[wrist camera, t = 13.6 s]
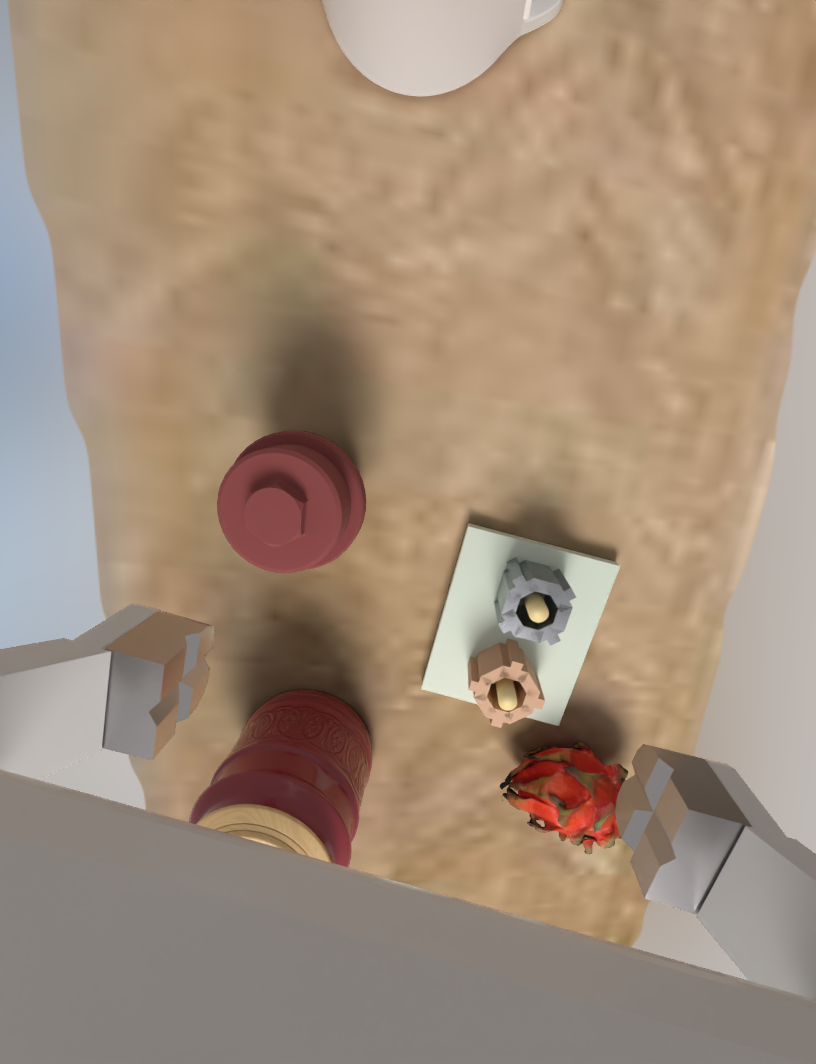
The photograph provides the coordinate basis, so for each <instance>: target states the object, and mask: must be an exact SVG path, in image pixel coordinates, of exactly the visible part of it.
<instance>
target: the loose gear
mask: <svg viewBox="0 0 816 1064" xmlns="http://www.w3.org/2000/svg"><path fill="white" fill-rule="evenodd" d="M506 563H507V566H508V569H507V570H505V571H504V572H503V575H502V578H501V581H500V584H499V588H498V591H497V597H498V600H497V601H495V602H494V605H495V610H496V616H497V621H498V625H499V627H500V628H501V630H502V632H503V633H506V632H508V631H510V630H511V632H512V633H513V635H514V636H515V637H519V638H523V639H527V640H531V641H534V642H538V643H541V642H543V641H545V640H547V641H548V643H549V644H550V646H551V645H553V644H555V643H557V642H559V641H561V640H560V638H559V635H558V634H560V633H562V632H564V631H565V628H566V625H567V622H568V619H569V617H570V614H571V611H572V608H573V607H572V605H571V603H570V600H572V599H574V598H576V596H575V594H574V592H573V590H572V588H571V587H570V585H569V584H568V582H567V580H566V579H565V577H564V575H563V574H562V572H561V571H560V569H557V570H555V571H552V570H551V568H550V566H547V565H543V564H540V563H536V562H532V561H528V560H524V561H522V562H520V563H519V562H518V560H517V558H516V557H515V558H513V559H512V560H510V561H508V562H506ZM533 592H539V593H543V594H546V595H545V598H544V602H545V604H546V606H547V608H548V611H549V616H548V618H547V619H546V620H545V621H543V622H540V623H537V622H534V621H532V620H531V619H530V617H529V614H528V611H527V609H526V606H523V605H520V604H519V601H520V599H521V598H523V597H525V596H527V595H529V594H531V593H533Z"/></svg>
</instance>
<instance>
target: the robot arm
mask: <svg viewBox="0 0 816 1064" xmlns="http://www.w3.org/2000/svg"><path fill="white" fill-rule="evenodd" d="M321 1H322V3H323V7H324V10H325V13H326V16H327V19H328V22H329V25H330V27H331V30H332V32H333V34H334V37H335V39H336V41H337V42H338V44H339V46H340V48H341V49H342V51H343V52H344V54H345V55H346V57H347V58H348V59H349V61H350V62H351V63H352V64H353V65H354V66H355V67H356V68H357V69H358V70H359V71H360V72H361V73H362V74H363V75H364V76H366V77H367V78H368V79H370V80H371V81H372V82H374V83H376V84H377V85H379V86H381V87H383V88H385V89H387V90H390V91H392V92H395V93H399V94H403V95H409V96H432V95H438V94H443V93H446V92H449V91H452V90H455V89H457V88H459V87H461V86H463V85H465V84H467V83H469V82H470V81H472V80H474V79H475V78H477V77H478V76H479V75H481V74H482V73H483V72H484V71H485V70H487V69H488V68H489V67H490V66H491V65H492V64H493V63H494V62H495V61H496V60H497V59H498V58H499V56H500V55H501V54H502V53H503V52H504V51H505V50H506V49H507V48H508V46H509V45H511V44H512V43H513V42H514V41H515V40H516V39H517V38H518V37H520V36H522V35H524V34H526V33H528V32H531V31H533V30H535V29H537V28H539V27H541V26H543V25H545V24H546V23H548V22H549V21H551V20H552V19H553V18H554V17H556V15H557V14H558V13H559V12H560V10H561V8H562V5H563V2H564V0H321ZM214 637H215V630H214V628H213V626H212V625H208V624H205V623H202V622H198V621H195V620H191V619H188V618H185V617H181V616H178V615H174V614H171V613H168V612H164V611H161V610H159V609H155V608H151V607H147V606H143V605H139V604H131V605H129V606H127V607H126V608H124V609H123V610H121V611H119V612H118V613H116V614H115V615H113V616H111V617H110V618H108V619H106V620H105V621H103V622H102V623H100V624H98V625H97V626H95V627H94V628H92V629H90V630H89V631H87V632H85V633H84V634H82V635H81V636H79V637H78V638H76V639H74V640H73V641H72V640H69V639H65V638H62V639H57V640H52V641H45V642H39V643H34V644H28V645H23V646H17V647H11V648H6V649H0V1064H816V854H815V853H813V852H812V851H811V850H809V849H808V848H807V847H805V846H804V845H803V844H801V843H800V842H799V841H797V840H795V839H792V838H788V837H786V835H785V834H784V833H783V832H782V830H781V829H780V827H779V826H778V825H777V823H776V822H775V821H774V820H773V818H772V817H771V816H770V814H769V813H768V812H767V810H766V809H765V808H764V807H763V805H762V804H761V803H760V801H759V800H758V799H757V797H756V796H755V795H754V793H753V792H752V791H751V790H750V788H749V787H748V786H747V784H746V783H745V782H744V780H743V779H742V778H741V777H740V775H739V774H738V773H737V771H736V770H735V769H734V768H732V767H731V766H729V765H727V764H724V763H720V762H715V761H711V760H707V759H702V758H698V757H694V756H690V755H686V754H682V753H678V752H674V751H670V750H666V749H662V748H658V747H654V746H649V745H644V744H643V745H642V746H641V747H640V748H639V749H638V750H637V752H636V754H635V756H634V758H633V761H632V765H633V768H634V771H635V774H636V775H634V776H632V777H631V778H629V779H627V780H626V781H624V782H623V783H622V786H621V788H620V791H619V793H618V796H617V802H616V812H615V814H616V821H617V827H618V830H619V833H620V835H621V838H622V839H623V841H624V842H625V843H626V844H627V845H628V846H629V847H630V848H631V849H632V850H633V851H634V854H633V857H632V859H631V861H630V862H631V865H632V867H633V870H634V872H635V875H636V877H637V880H638V883H639V885H640V888H641V890H642V893H643V896H644V898H645V899H648V900H652V901H655V902H658V903H661V904H665V905H668V906H671V907H674V908H677V909H680V910H684V911H687V912H690V913H693V914H697V919H698V920H699V921H700V922H701V923H702V925H703V926H704V927H705V928H706V929H707V931H708V932H709V933H710V934H711V935H712V937H713V938H714V939H715V940H716V942H717V943H718V944H719V945H720V947H721V948H722V949H723V950H724V951H725V953H726V954H727V955H728V956H729V957H730V959H731V960H732V961H733V962H734V963H735V965H736V966H737V967H738V968H739V970H740V971H741V972H742V973H743V974H744V976H745V977H746V978H747V979H748V980H744V979H741V978H737V977H734V976H730V975H726V974H723V973H720V972H716V971H712V970H709V969H705V968H702V967H698V966H694V965H691V964H688V963H684V962H680V961H677V960H674V959H670V958H666V957H663V956H659V955H655V954H652V953H649V952H645V951H642V950H638V949H635V948H631V947H627V946H624V945H620V944H617V943H613V942H610V941H606V940H603V939H599V938H596V937H592V936H589V935H585V934H581V933H578V932H574V931H571V930H567V929H564V928H560V927H557V926H553V925H550V924H546V923H543V922H539V921H535V920H532V919H528V918H525V917H521V916H518V915H514V914H511V913H507V912H504V911H500V910H496V909H493V908H489V907H486V906H482V905H479V904H475V903H472V902H468V901H465V900H461V899H458V898H454V897H451V896H447V895H443V894H440V893H436V892H433V891H429V890H426V889H422V888H419V887H415V886H412V885H408V884H405V883H401V882H398V881H394V880H390V879H387V878H383V877H380V876H376V875H373V874H369V873H366V872H362V871H359V870H355V869H352V868H348V867H345V866H341V865H337V864H334V863H330V862H327V861H323V860H320V859H316V858H313V857H309V856H306V855H302V854H299V853H295V852H292V851H288V850H284V849H281V848H277V847H274V846H270V845H267V844H263V843H260V842H256V841H253V840H249V839H246V838H242V837H239V836H235V835H231V834H228V833H224V832H221V831H217V830H214V829H210V828H207V827H203V826H200V825H196V824H193V823H189V822H186V821H182V820H178V819H175V818H171V817H168V816H164V815H161V814H157V813H154V812H150V811H147V810H143V809H139V808H136V807H132V806H129V805H125V804H122V803H118V802H115V801H111V800H108V799H104V798H100V797H97V796H94V795H90V794H87V793H83V792H80V791H76V790H73V789H69V788H65V787H61V786H58V785H55V784H51V783H47V782H44V781H40V779H42V778H45V777H47V776H49V775H51V774H53V773H55V772H57V771H59V770H62V769H64V768H66V767H68V766H70V765H72V764H74V763H76V762H79V761H81V760H83V759H85V758H87V757H89V756H91V755H93V754H95V753H98V752H100V751H101V750H102V748H105V749H109V750H113V751H117V752H121V753H125V754H129V755H133V756H137V757H141V758H145V759H149V760H153V759H154V758H155V757H156V755H157V754H158V753H159V752H160V751H161V749H162V748H163V747H164V746H165V745H166V744H167V742H168V741H169V740H170V739H171V738H172V737H173V735H174V734H175V727H176V723H177V722H179V721H182V720H185V719H187V718H189V716H190V715H191V714H192V713H193V711H194V710H195V709H196V707H197V706H198V704H199V702H200V700H201V698H202V696H203V694H204V691H205V688H206V685H207V681H208V677H209V671H210V668H209V666H208V664H207V662H206V660H205V658H204V657H205V656H206V655H207V654H208V653H209V652H210V651H211V650H212V648H213V645H214Z"/></svg>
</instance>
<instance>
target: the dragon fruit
mask: <svg viewBox="0 0 816 1064" xmlns="http://www.w3.org/2000/svg"><path fill="white" fill-rule="evenodd" d="M574 748H575V749H573V748H570V749H568V748H557V747H550V748H547V747H546V746H545V747H541V748H539V749H536V750H534V751H532V752H529V753H526V755H525V756H524V757H528V758H527V759H526V760H525V761H524V762H523V763H522V764H521V765H520V766H518V767H517V768H515V769H514V770H513V771H511V772H510V773H509V775H508V776H507V778H506V780H505V782H503V783H501V784H500V788H501V789H503V788H504V787H506V786H507V785H508V784H509V785H508V786H509V787H508V788H507V793H503V796H504V797H505V798H506V799H507V800H508V801H509V803H510V804H511V805H512V806H514V807H515V808H517V809H519V810H523V811H526V812H528V813H530V817H531V819H530V822H527V824H528V825H530V826H532V827H535V829H536V830H537V831H538V832H541V833H546V832H550V831H558V832H559V837H560V839H561V841H564V840H566V839H568V838H570V842H571V843H572V844H574V845H577V846H579V845H580V844H582V843H583V845H584V848H585V853H586V854H592V844H593V842H594V841H596V843H597V844H598V845H599V846H600V847H601V848H610V847H612V846H614V844H615V839H618V838H621V835H620V833H619V830H618V827H617V821H616V814H615V812H616V802H617V796H618V793H619V791H620V788H621V786H622V783H623V782H624V781H625V778H626V777H627V775H628V771H627V770H626V769H624V768H623V767H622V766H621V765H620V764H615V765H610V766H604V765H603V764H602V763H601V762H600V761H599V760H598V759H597V758H596V757H595V755H594V754H593V752H592V750H591V749H590V748H589V747H588V746H586V745H585V744H584V743H582V742H576V744H575V746H574ZM511 780H512V782H511ZM510 787H512V788H514V790H516V791H518V794H517V793H516V792H514V791H513V790H512V789H511V788H510ZM502 801H503V800H502ZM536 820H541V821H544V823H545V827H541V826H540V825H539V824H538V823H537V822H536Z"/></svg>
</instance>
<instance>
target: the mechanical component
mask: <svg viewBox="0 0 816 1064" xmlns="http://www.w3.org/2000/svg"><path fill="white" fill-rule="evenodd" d="M217 509H218V517H219V522H220V525H221V528H222V531H223V533H224V535H225V537H226V538H227V540H228V542H229V543H230V544H231V546H232V547H233V549H234V550H235V551H236V552H237V553H238V554H239V555H240V556H242V557H243V558H244V559H245V560H247V561H248V562H250V563H251V564H253V565H255V566H257V567H259V568H262V569H264V570H268V571H272V572H278V573H292V572H298V571H302V570H305V569H311V568H316V567H319V566H322V565H325V564H327V563H329V562H331V561H333V560H334V559H336V558H337V557H339V556H340V555H341V554H342V553H343V552H345V551H346V549H347V548H348V547H349V546H350V545H351V543H352V542H353V541H354V539H355V538H356V536H357V534H358V533H359V531H360V529H361V526H362V523H363V520H364V516H365V511H366V495H365V488H364V484H363V481H362V478H361V476H360V473H359V471H358V469H357V468H356V466H355V464H354V463H353V461H352V460H351V459H350V457H349V456H348V455H347V454H346V453H345V452H344V451H343V450H342V449H341V448H340V447H339V446H337V445H336V444H335V443H333V442H332V441H330V440H328V439H326V438H324V437H322V436H320V435H317V434H314V433H310V432H305V431H284V432H279V433H273V434H270V435H267V436H264V437H262V438H260V439H259V440H257V441H255V442H254V443H252V444H251V445H249V446H248V447H247V448H246V449H245V450H244V451H243V452H242V453H241V454H240V456H239V457H238V458H237V460H236V461H235V463H234V465H233V466H232V467H231V468H230V469H229V471H228V472H227V473H226V475H225V477H224V479H223V481H222V483H221V486H220V489H219V493H218V501H217Z"/></svg>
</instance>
